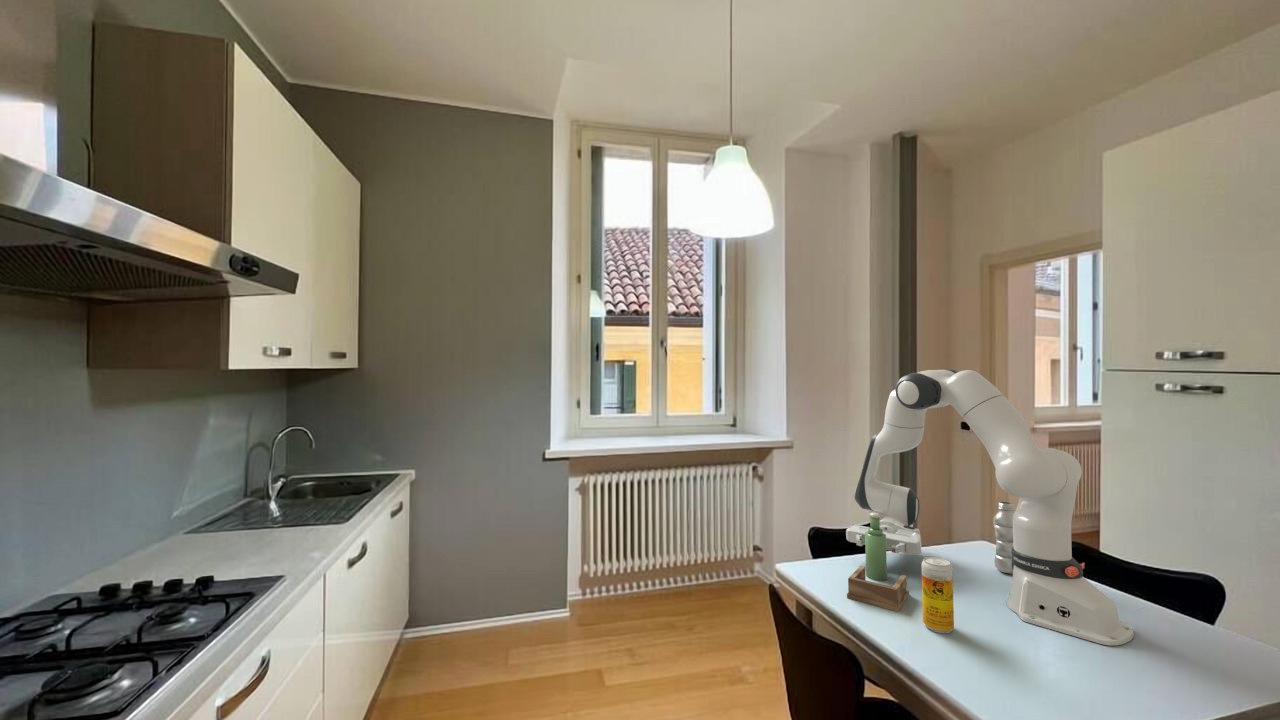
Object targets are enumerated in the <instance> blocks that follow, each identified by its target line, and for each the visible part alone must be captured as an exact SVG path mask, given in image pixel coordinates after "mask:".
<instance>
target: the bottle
mask: <svg viewBox="0 0 1280 720" xmlns="http://www.w3.org/2000/svg"><path fill="white" fill-rule="evenodd" d="M869 517H870V519H869V520H870V526H868V527H869V528H868V532H865V549H864V550H865V577H867V578H868V579H870V578H871V580H873V579H874V581H880V580H882V581H887V580H888V568H887V563H888V562H887V560H888V559H887V550H886V535H885V534H884V533H883V529H881V528H880V520H881V513H880V512H876V511H872V512H869Z"/></svg>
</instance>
